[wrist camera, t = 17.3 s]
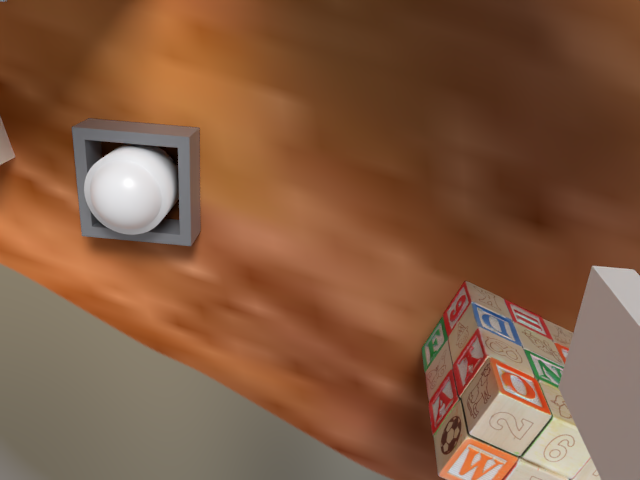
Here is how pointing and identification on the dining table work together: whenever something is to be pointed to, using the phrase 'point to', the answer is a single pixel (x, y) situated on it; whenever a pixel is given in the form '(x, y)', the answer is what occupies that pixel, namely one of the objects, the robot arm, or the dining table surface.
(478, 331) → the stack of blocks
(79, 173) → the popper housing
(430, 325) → the dining table surface
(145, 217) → the dome
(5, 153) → the die
